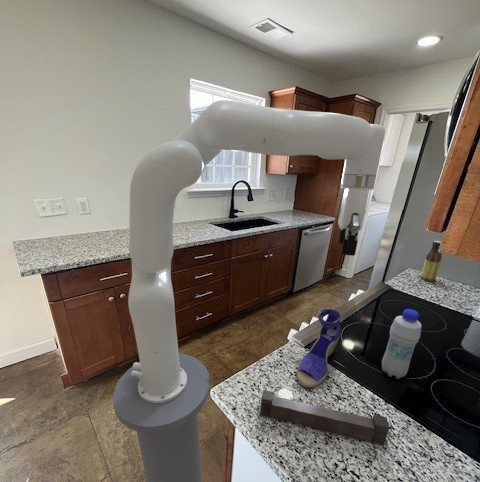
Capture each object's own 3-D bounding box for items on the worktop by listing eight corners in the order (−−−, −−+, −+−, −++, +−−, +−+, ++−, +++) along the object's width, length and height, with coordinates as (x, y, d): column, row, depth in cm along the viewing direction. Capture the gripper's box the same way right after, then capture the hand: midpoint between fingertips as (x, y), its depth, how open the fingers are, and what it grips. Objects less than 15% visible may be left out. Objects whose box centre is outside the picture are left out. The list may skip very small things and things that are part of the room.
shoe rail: (260, 414, 61) (261, 398, 59) (262, 406, 63) (263, 389, 61) (383, 445, 55) (389, 428, 53) (381, 434, 57) (386, 417, 55)
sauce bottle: (429, 277, 136) (441, 239, 128) (438, 282, 130) (451, 243, 122) (416, 277, 136) (428, 239, 128) (424, 282, 130) (437, 243, 122)
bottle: (409, 372, 74) (430, 310, 66) (401, 385, 69) (423, 321, 62) (384, 360, 78) (401, 301, 70) (375, 371, 74) (392, 309, 66)
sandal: (285, 375, 72) (290, 329, 66) (323, 343, 85) (330, 303, 79) (311, 393, 67) (319, 344, 61) (348, 356, 80) (357, 313, 74)
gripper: (339, 179, 73) (330, 239, 80) (344, 184, 58) (333, 258, 64) (368, 180, 71) (356, 241, 78) (382, 185, 56) (366, 261, 63)
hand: (346, 249), depth 71 cm, fingers open, 9 cm apart
